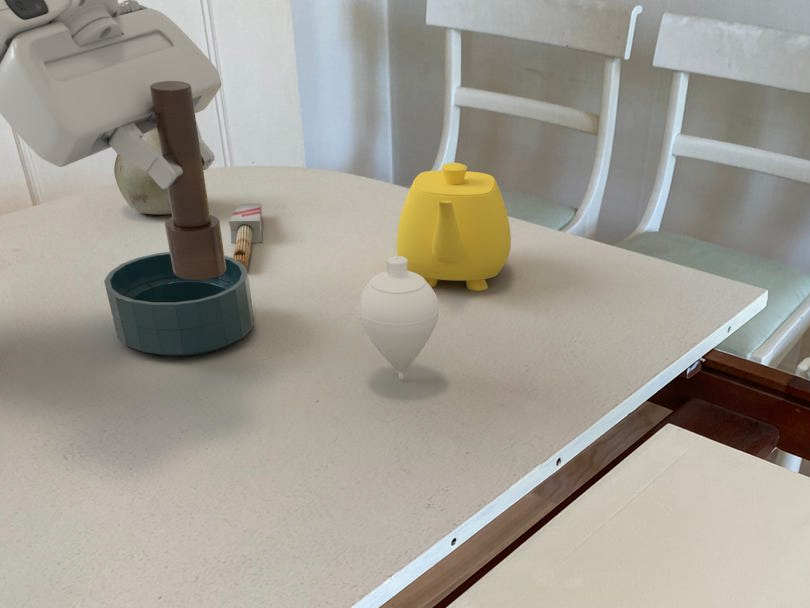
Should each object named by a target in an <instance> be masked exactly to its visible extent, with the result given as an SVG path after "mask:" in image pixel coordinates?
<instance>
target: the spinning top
mask: <svg viewBox="0 0 810 608" xmlns="http://www.w3.org/2000/svg"><path fill="white" fill-rule="evenodd" d="M407 262H408V260H407V259H406V258H405V257H402V256H398V255H393V256H389V257H387V259H386V268H387V270H385V271H382V272H379V273H378V274H376V275H374V276H372V277H371V279H370V280H369V281H368V283H367V284H366V285H365V287H364V288H363V290H362V291H361V293H360V296H359V299H358V306H357V311H358V317H359V321H360V322H361V325H362V328H363V330H364V332H365V333H366V335H367V336H368V338H369V340H370V342H371V343H372V344H373V346H374V347H375V348H376V349H377V351H378V352H379V353H380V355H382V356H383V358H384V359H385V360H386V361H387V362H388V363H389V364H390V366H392V368H394V370H396V371H397V372H398V378H399V380H400V381H401V380H403V379H404V371H406V370H407V369H408V368H409V367H410V366H411V364H413V362H414V361H415V360H416V358H417V357H418V356H419V355H420V353H421V352H422V350H423V349H424V347H425V346H426V345H427V344H428V342H429V340H430V338H431V336H432V335H433V332H434V330H435V328H436V326H437V323H438V320H439V314H440V313H439V312H440V306H439V299H438V296H437V294H436V293H435V291H434V289H433V287H431V286H430V285H429V284H428V283H427V282H426V281H425V279H424V278H423V277H422V276H420V275H418V274H416V273H414V272H410V271H407Z"/></svg>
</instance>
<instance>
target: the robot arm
mask: <svg viewBox="0 0 810 608" xmlns="http://www.w3.org/2000/svg"><path fill="white" fill-rule="evenodd" d="M163 81H180V82H186V83H188V84H190V85H191V90H192V97H193V104H194V110H195V114H198V113H200V112H202V111H204V110H206V109H207V107H208V106H209V104H210V103H211V102H212V100H214V98H215V97H216V95H217V94H218V92H219V91H220V89H221V87H222V79H221V76H220V73H219V69H217V67H216V66H215V65H214V64H213V62H212V61H211V60H210V59H209V58H208V57H207V56H206V54H205V53H204V52H203V51H202V50H201V49H200V47H198V45H197V44H195V42H194V41H193V40H192V39H191V38H190V36H188V35H187V34H186V33H185V32H184V31H183V30H182V29H181V27H179V26H178V25H177V24H176V23H175V22H174V21H173V20H172V19H171V18H170V17H168V16H167V15H166V14H164V13H163V12H161V11H159V10H157V9H153V8H149V7H147V6H145V5H142V4H140V3H139V2H138V1H136V0H123V1H122V2H121V3H119V0H0V115H1V116H2V118H4V120H5V121H6V122H7V123H8V124H9V125H10V127H11V128H12V129H13V130H14V132H15V133H16V134H17V135H18V136H19V138H21V139H22V140H23V142H24V143H25V144H26V145H27V146H28V147H29V148H30V149H31V150H32V151H33V152H34V153H35V154H36V156H38V157H39V158H41V159H42V160H44V161H46V162H48V163H49V164H52V165H54V166H56V167H59V168H63V167H66V166H68V165H70V164H73V163H75V162H78V161H81V160H83V159H85V158H88V157H91V156H93V155H95V154H97V153H100V152H102V151H105V150H107V149H111V148H112V149H113V151H114V152H115V153H116V155H117V154H118V155H119V156H120V157H121V158H122V159H123V160H125V161H127V162H129V163H130V164H132V165H134V166H136V167H137V168H139V169H141V170H143V171H145V172H148V174H149V175H150V176H151V177H152V178H153V179H154V180H155V182H156V183H157V184H158V185H159V186H160V187H161V188H162V189H166V188H168V187H171V186H173V185H175V184H176V183H177V182H178V181H179V179H180V178H181V177H182V176H183V169H182V167H181V166H180V165H179V164H178V163H176V161H175V159H174V158H173V157H172V156H171V155H170V153H166V154H164V155H163V154H161V153H160V152H159V151H157V150H156V149H155V148H153V147H152V146H151V145H149V144H148V143H146V142H145V141H144V140H142V137H143V136H144V135H143V134H145V133H148V132H150V131H153V130H155V129H157V125H156V119H155V113H154V108H153V102H152V96H151V90H150V86H151V85H152V84H154V83H157V82H163ZM196 124H197V131H198V137H199V144H200V151H201V158H202V165H203V171H206V170H208V169H209V168H210V166H211V165H212V164H213V163H214V161H215V155H214V152H213V151H212V150H211V149H210V148H209V146H208V145H207V144H206V142H205V141H204V140H203V139H202V135H201V132H200V128H199V126H198V122H197V121H196Z"/></svg>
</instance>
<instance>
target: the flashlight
mask: <svg viewBox="0 0 810 608" xmlns="http://www.w3.org/2000/svg"><path fill="white" fill-rule="evenodd" d="M150 90H151V96H152V102H153V108H154V113H155V119H156V125H157V131H158V136H159V142H160V148H161V154H163V155H164V154H166V153H170V155H171V156H172V157H173V158H174V159H175V161H176V163H178V164H179V165H180V166H181V167H182V169H183V176H182V177H181V178H180V179H179V181H178V182H177V183H176V184H175V185H173V186H171V187H168V188H167V189H168V194H169V200H170V206H171V212H172V213H171V216H172V217H169V218H168V219H167V220H165V222H164V228H165V233H166V240H167V245H168V250H169V251H168V252H170V256H171V262H172V268H173V272H174V274H175V275H176V276H178V277H180V278H183V279H189V280H205V279H211V278H215V277H218V276H220V275H222V274H223V273H224V272H225V271H226V263H225V256H226V255H225V249H224V241H223V236H222V230H221V228H222V227H221V222H220V221H221V220H220V219H219V218H218V217H217V216H215V215H211V212H210V206H209V200H208V199H209V198H208V193H207V185H206V178H205V172H204V171H205V170H203V165H202V158H201V151H200V144H199V137H198V131H197V125H198V123H197V124H196V122H197V118H196V113H195V110H194V104H193V97H192V90H191V85H190V84H188V83H186V82H180V81H163V82H157V83H154V84H152V85H151V86H150Z"/></svg>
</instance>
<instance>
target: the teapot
mask: <svg viewBox="0 0 810 608" xmlns="http://www.w3.org/2000/svg"><path fill="white" fill-rule="evenodd" d="M510 226H511V225H510V221H509V216H508V212H507V208H506V205H505V202H504V199H503V196H502V193H501V190H500V187H499V185H498V183H497V181H496V178H494V176H493V175H491V174H489V173H484V172H477V171H468V166H467V165H466V164H463V163H460V162H447V163H445V164H442V165H441V170H427V171H422V172H419V174H417V176H416V177H415V178H414V179H413V182H412V183H411V186H410V188H409V190H408V193H407V196H406V198H405V201H404V203H403V207H402V210H401V213H400V216H399V221H398V227H397V233H396V234H397V235H396V255H397V256H402V257H405V258H406V259H407V260H408V262H407V271H410V272H414V273H416V274H418V275H420V276H422V277H423V278H424V279H425V281H426V282H427V283H428V284H429V285H430V286H431V288H434V287H436V286H437V285H438V280H441V281H442V280H443V281H465V285H466V288H467V289H468V290H470V291H477V292H480V291H485V290H487V289H488V287H489V286H488V283H487V281H486V279H491V278H494V277H496V276H497V275H498V274H500V272H501V271H502V269H503V267H504V266H505V265H506V263H507V260H508V258H509V256H510V253H511V249H512V247H511V246H512V236H511V227H510Z"/></svg>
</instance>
